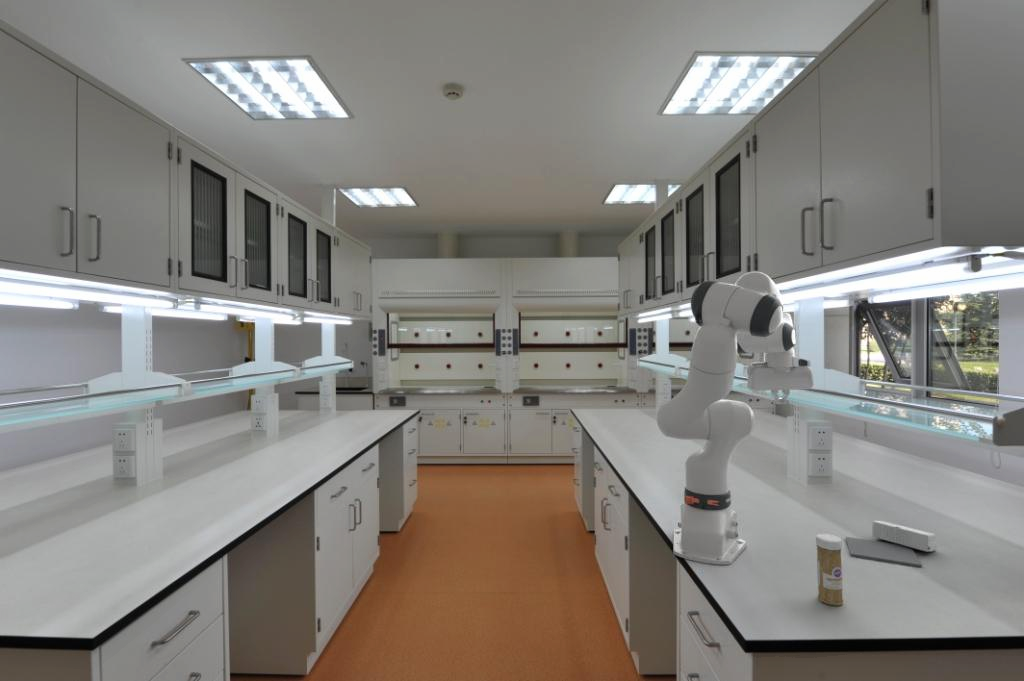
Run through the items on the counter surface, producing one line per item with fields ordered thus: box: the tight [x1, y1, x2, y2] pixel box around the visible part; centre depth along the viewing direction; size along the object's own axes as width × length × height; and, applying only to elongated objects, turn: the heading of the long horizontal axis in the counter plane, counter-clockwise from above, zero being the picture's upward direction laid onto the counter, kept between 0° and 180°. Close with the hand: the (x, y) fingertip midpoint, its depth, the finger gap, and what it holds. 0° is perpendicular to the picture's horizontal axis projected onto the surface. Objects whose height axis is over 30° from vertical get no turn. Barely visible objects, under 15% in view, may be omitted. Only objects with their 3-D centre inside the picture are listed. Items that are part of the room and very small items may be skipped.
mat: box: [845, 536, 923, 568], centre depth 124 cm, size 12×14×1 cm
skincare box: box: [871, 520, 937, 553], centre depth 128 cm, size 6×4×12 cm
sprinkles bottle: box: [815, 533, 844, 607], centre depth 102 cm, size 5×5×14 cm
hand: (780, 403), depth 159 cm, fingers closed
